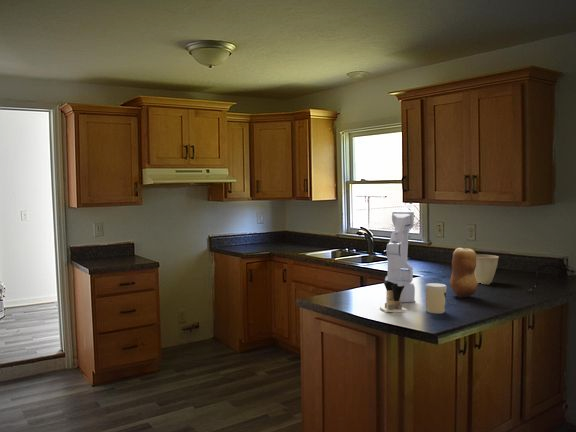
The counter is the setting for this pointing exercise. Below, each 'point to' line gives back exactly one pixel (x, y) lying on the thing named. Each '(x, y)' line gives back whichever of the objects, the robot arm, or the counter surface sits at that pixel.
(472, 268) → the butternut squash
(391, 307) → the cream pegged base plate
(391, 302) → the wooden block
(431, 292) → the coffee cup
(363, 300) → the counter surface
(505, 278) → the counter surface
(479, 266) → the plant pot
